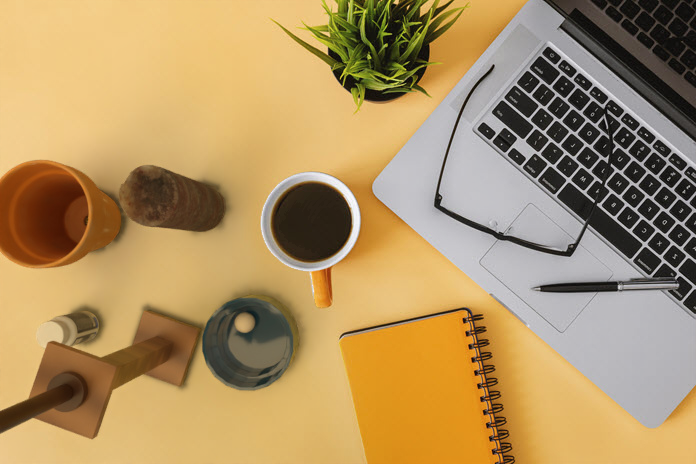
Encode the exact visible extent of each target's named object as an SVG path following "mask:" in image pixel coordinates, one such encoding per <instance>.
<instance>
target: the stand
mask: <svg viewBox="0 0 696 464" xmlns="http://www.w3.org/2000/svg"><path fill="white" fill-rule="evenodd" d="M201 331H202V328H201V327H197V326H195V325H192V324H189V323H186V322H183V321H180V320H178V319H175V318H172V317H169V316H167V315H163V314H160V313H157V312H155V311H152V310H148V309H146V310H143V312H142V315H141V318H140V321H139V324H138V327H137V330H136V333H135V336H134V339H133V341H132V345H129V346H126V347H124V348H121V349H119V350H116V351H114V352H111V353H108V354H106V355H103V356H99V355H97V354H96V355H95V354H93V353H89V352H88V351H85V350H82V349H78V348H76V347H74V346H71V347H70V346H67V345H65V344H62V343H59V342H56V341H50V342H48V343H47V346H46V349H44V351H43V355H42V358H41V360H40V363H39V366H38V369H37V372H36V374H35V378H34V381H33V384H32V386H31V390H30V392H29V394H28V398H27V399H29V398H32V397H34V396H36V395H39V394H41V393H43V392H46V390H47V386H48V384H49V382H50V381H51V379H52V378H54V377H55V376H57V375H59V374H61V373H64V372H75V373H78V374H79V375H81V376H82V377H83V378H84V380H85V381H86V383H87V387H88V394H87V398H86V400H85V402H84V403H83V404H82V405H81V406H80V407H78V408H77V409H75V410H73V411H70V412H60V411H57V410H55V409H54V408H53V409H51V410H48V411H46V412H44V413H42V414H40V415H38V416H36V417H34V418H33V419H34V420H37V421H40V422H43V423H46V424H48V425H51V426H54V427H57V428H59V429H62V430H64V431H68V432H70V433H73V434H76V435H79V436H81V437H84V438H87V439H89V440H94V439H96V438H98V435H99V433H100V430H101V427H102V424H103V421H104V418H105V415H106V412H107V409H108V407H109V403H110V400H111V397H112V394H113V391H115V390H116V389H118V388H120V387H122V386H124V385H125V384H128V383H129V382H132V381H133V380H135V379H137V378H139V377H141V376H142V375H145V376H148V377H151V378H153V379H157V380H159V381H162V382H165V383H167V384H171V385H173V386H176V387H178V388H179V387H182V386H183V385H184V382H185V379H186V376H187V373H188V370H189V367H190V365H191V361H192V358H193V355H194V352H195V350H196V346H197V344H198V340H199V338H200V335H201Z"/></svg>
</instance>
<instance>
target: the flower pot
mask: <svg viewBox="0 0 696 464" xmlns="http://www.w3.org/2000/svg"><path fill="white" fill-rule="evenodd" d="M121 226H122V214H121V210H120V208H119V206H118V204H117V203H116V202H115V200H114V199H113V198H111V197H110V196H109V195H107V194H106V193H105V192H103V191H102V190H100V189H99V187H98V185H97V184H96V183H95V181H93V179H91V178H90V177H89V176H88V175H87V174H86V173H84V172H82V171H80V170H79V169H77V168H74V167H72V166H70V165H67V164H64V163H60V162H57V161H54V160H49V159H33V160H28V161H25V162H22V163H20V164H17V165H15V166H13V167H12V168H10V169H9V170H8V171H6V172H5V173H4V174H3V175H2V176H1V177H0V254H2V255H3V256H4V257H5V258H6V259H7V260H9V261H11V262H12V263H14V264H16V265H19V266H21V267H25V268H29V269H36V270H37V269H38V270H39V269H51V268H60V267H61V268H62V267H65V266H70V265H72V264H75V263H76V262H79V261H80V260H82V259H84V257H86V256H88V255H89V254H90V253H91V252H94V251H96V250H97V251H98V250H99V249H102V248H105V247H106V246H108V245H109V244H111V243H112V242H113V241H114V240H115V239H116V237H117V236H118V234H119V232H120V231H121Z"/></svg>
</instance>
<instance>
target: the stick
mask: <svg viewBox="0 0 696 464" xmlns="http://www.w3.org/2000/svg"><path fill="white" fill-rule="evenodd" d="M87 394H88V387H87V383H86V381H85V380H84V378H83V377H82V376H81V375H79V374H78V373H75V372H64V373H61V374H59V375H57V376H55V377H54V378H52V379H51V381H50V382H49V384H48V386H47V390H46V392H43V393H41V394H39V395H36V396H34V397H32V398H29V397H28V398H29V399H28V398H26V399H25V400H22V401H19V402H17V403H15V404H13V405H10V406H8V407H6V408H4V409H1V410H0V435H1V434H3V433H5V432H7V431H9V430H12V429H13V428H16V427H17V426H20V425H22V424H24V423H26V422H28V421H30V420H32V419H34V417H36V416H38V415H40V414H42V413H44V412H46V411H48V410H51V409H53V408H54V409H55V410H57V411H60V412H70V411H73V410H75V409H77V408H78V407H80V406H81V405H82V404H83V403H84V402H85V400H86V398H87Z"/></svg>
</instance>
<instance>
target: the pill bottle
mask: <svg viewBox="0 0 696 464" xmlns="http://www.w3.org/2000/svg"><path fill="white" fill-rule="evenodd" d="M99 330H100V322H99V319H98V317H97V316H96V315H95V314H94V313H92V312H91V311H87V310H82V311H81V310H80V311H75V312H71V313H67V314H62V315H58V316H54V317H53V318H51V319H50V320H46V321H44V322H42V323H41V324H40V325H39V326H38V327H37V329H36V332H35V340H36V342H37V344H38V345H39V347H41V348H42V349H43V350H45V349H46V346H47V343H48V342H50V341H56V342H59V343H62V344H65V345H67V346H70V347H74V346H76V345H80V344H83V343H86V342H89V341H91V340H93V339H95V337H96V336H97V334H98V332H99Z"/></svg>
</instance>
